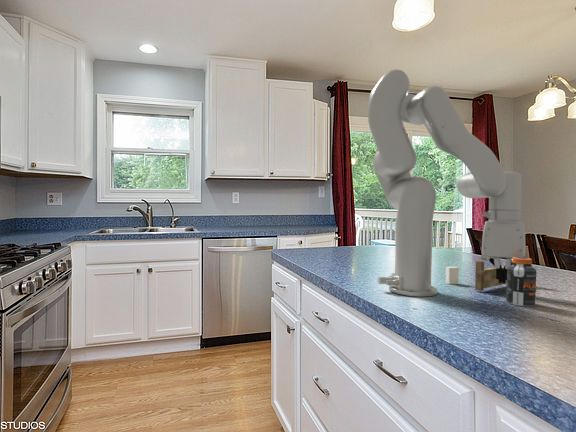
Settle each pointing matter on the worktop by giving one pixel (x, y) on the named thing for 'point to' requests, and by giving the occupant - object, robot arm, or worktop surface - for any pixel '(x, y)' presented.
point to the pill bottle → (521, 282)
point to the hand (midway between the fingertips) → (502, 282)
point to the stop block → (452, 275)
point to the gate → (485, 277)
